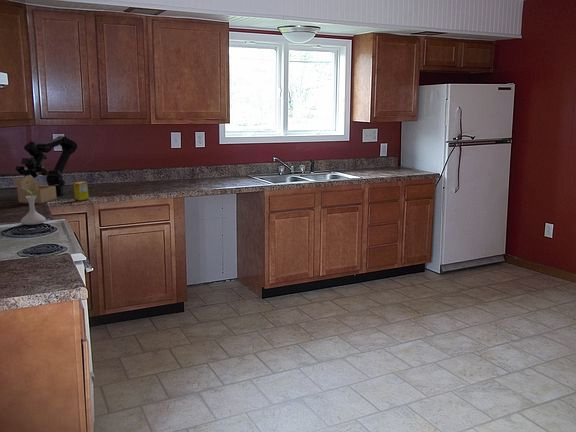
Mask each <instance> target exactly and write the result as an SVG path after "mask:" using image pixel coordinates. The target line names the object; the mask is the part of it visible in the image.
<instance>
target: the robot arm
mask: <svg viewBox="0 0 576 432" xmlns="http://www.w3.org/2000/svg"><path fill="white" fill-rule="evenodd" d="M57 146H60V147H61V155H60V157H59V158H58V160H57V163H56V165H55V167H54V168H53V170H49V171H48V170H47V169H46V168H45V167H44V166H43V165H42V163H43V160H48V159H47V156H46V154H48V153H50V152H51V151H52V150H53V149H54V148H56V147H57ZM23 149H24V150H25V152H26V153H27V154H28V155H29V156H30V157H29V158H26V157H22V158H21V162H20V163H21V165H16V166H15V169H14V170H15V171H16V172H17V173H18V174H19V175H20V176H21V175H22V176H23V175H24V177H25V176H27V175H28V177H29V175H32V176H33V178H34V179H35V178H37V177H39V174H40V173H41V175H42V177H44V176H45V180H46V184H47V186H56V197H61V196H66V194H65V193H64V188H63V187H64V186H66V185H65V184H66V182H65V181H64V179H63V171H64V169H65V167H66V165H67V162H68V160H69V158H70V156H71V155H73V154H74V153H75V152H76V150H77V149H78V144H77V143H76V141H74V140H73V139H70V138H68V137H67V136H64V135H62V136H61V135H60V136H57V137H56V138H54V139H51V140H49V141H46V142H38V143H35V142H34V141H29V142H28V143H27V144H25V145H24V146H23ZM23 165H24V166H23Z"/></svg>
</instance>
